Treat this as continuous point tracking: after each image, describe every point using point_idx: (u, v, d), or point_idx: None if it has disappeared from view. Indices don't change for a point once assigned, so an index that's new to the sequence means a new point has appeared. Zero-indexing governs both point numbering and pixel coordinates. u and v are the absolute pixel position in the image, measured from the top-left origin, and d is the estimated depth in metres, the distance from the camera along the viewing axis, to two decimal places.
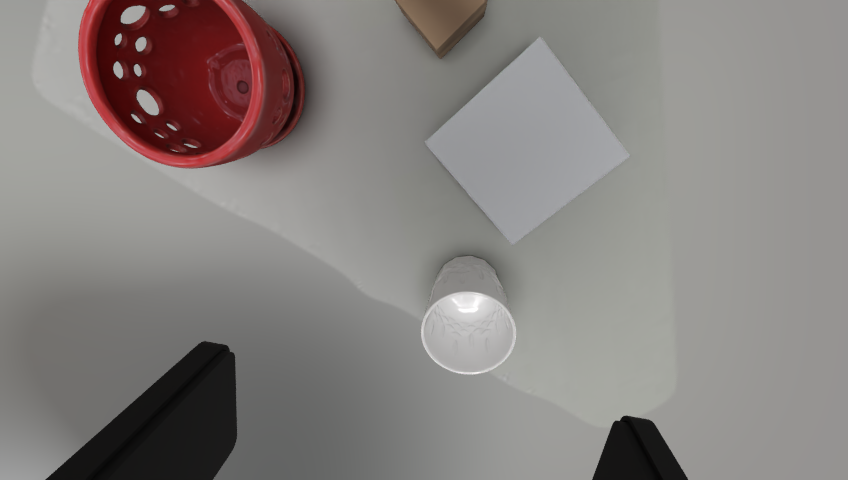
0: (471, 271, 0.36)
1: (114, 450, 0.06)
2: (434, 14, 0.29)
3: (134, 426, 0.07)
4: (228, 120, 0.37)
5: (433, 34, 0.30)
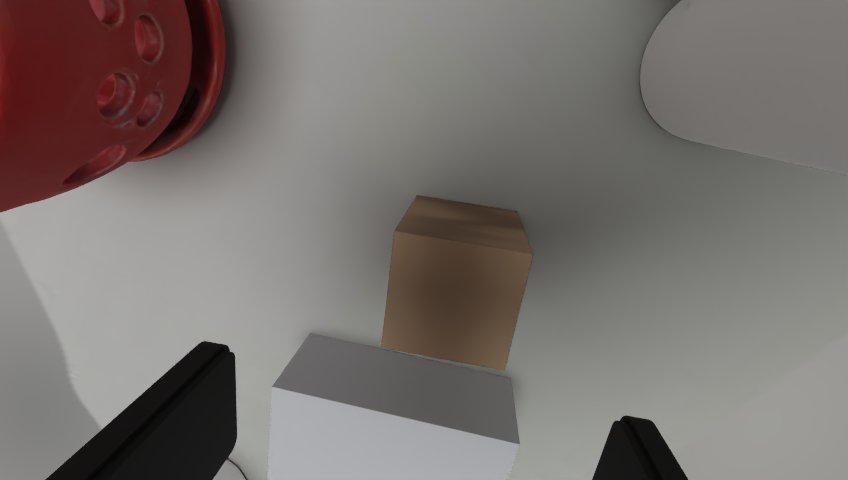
0: None
1: (114, 451, 0.06)
2: (422, 312, 0.15)
3: (134, 426, 0.07)
4: None
5: (396, 329, 0.16)
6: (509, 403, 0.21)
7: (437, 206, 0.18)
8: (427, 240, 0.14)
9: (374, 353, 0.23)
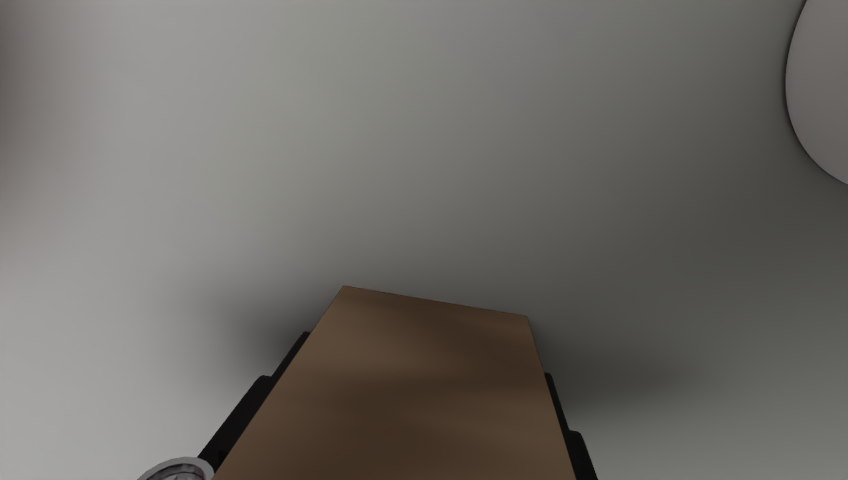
0: None
1: None
2: None
3: None
4: None
5: None
6: None
7: (373, 322, 0.09)
8: None
9: None
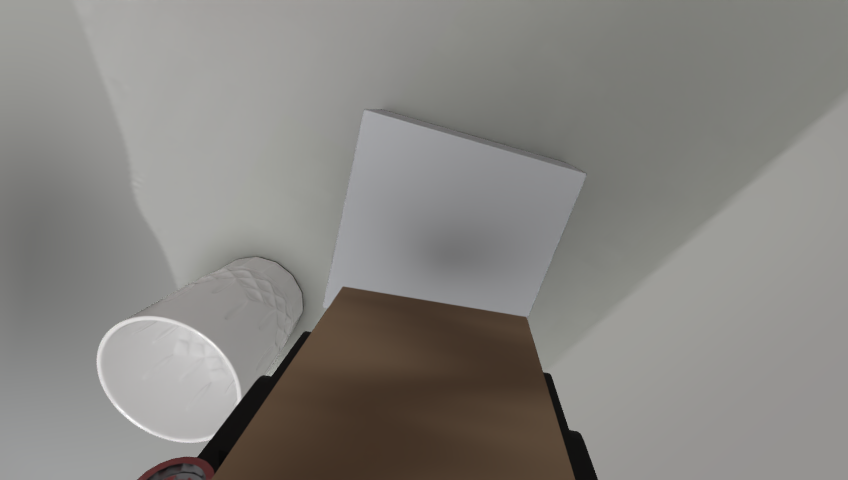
0: (262, 304, 0.24)
1: None
2: None
3: None
4: None
5: None
6: (569, 165, 0.23)
7: (372, 323, 0.09)
8: None
9: (442, 127, 0.24)
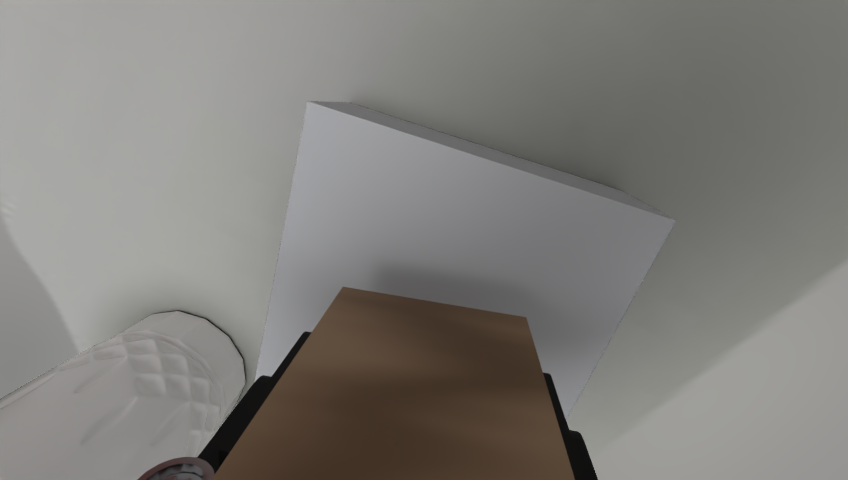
0: (163, 399, 0.16)
1: None
2: None
3: None
4: None
5: None
6: (634, 199, 0.15)
7: (372, 323, 0.09)
8: None
9: (440, 133, 0.16)
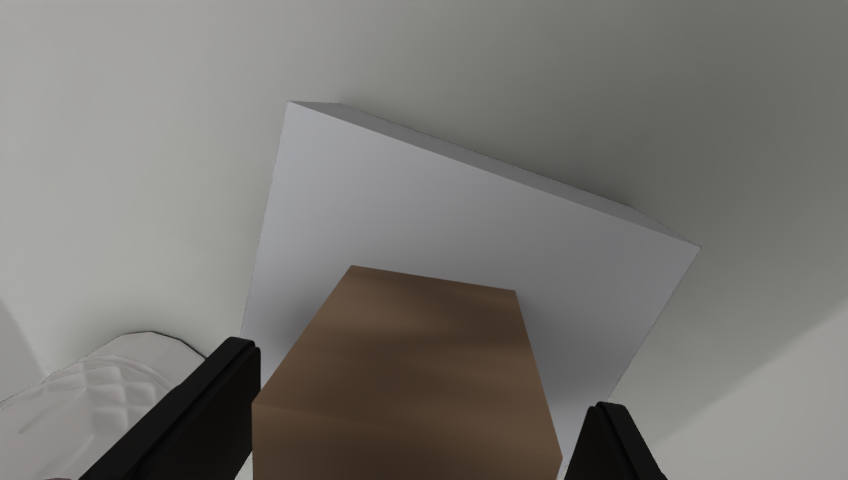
0: None
1: (157, 439, 0.07)
2: None
3: (174, 416, 0.07)
4: None
5: None
6: (650, 219, 0.13)
7: (378, 293, 0.10)
8: (326, 423, 0.06)
9: (437, 139, 0.15)
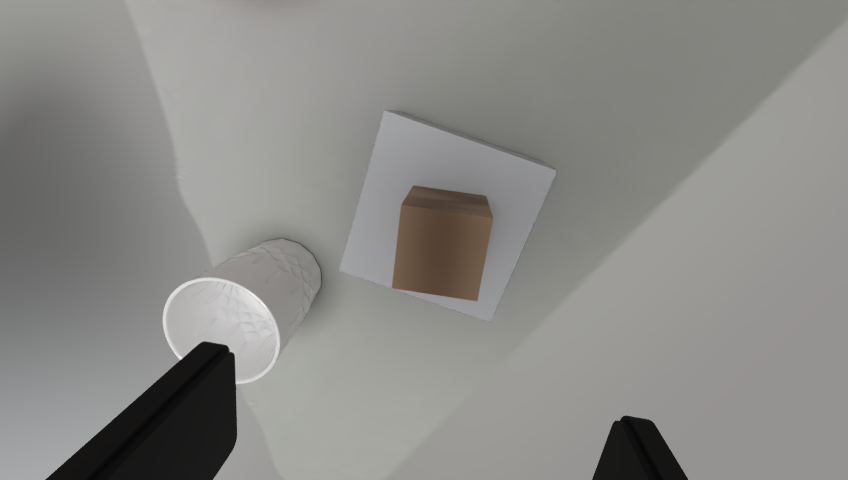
0: (291, 274, 0.29)
1: (114, 451, 0.06)
2: (420, 261, 0.22)
3: (134, 426, 0.07)
4: None
5: (402, 274, 0.23)
6: (545, 164, 0.28)
7: (428, 192, 0.25)
8: (423, 210, 0.21)
9: (445, 128, 0.30)
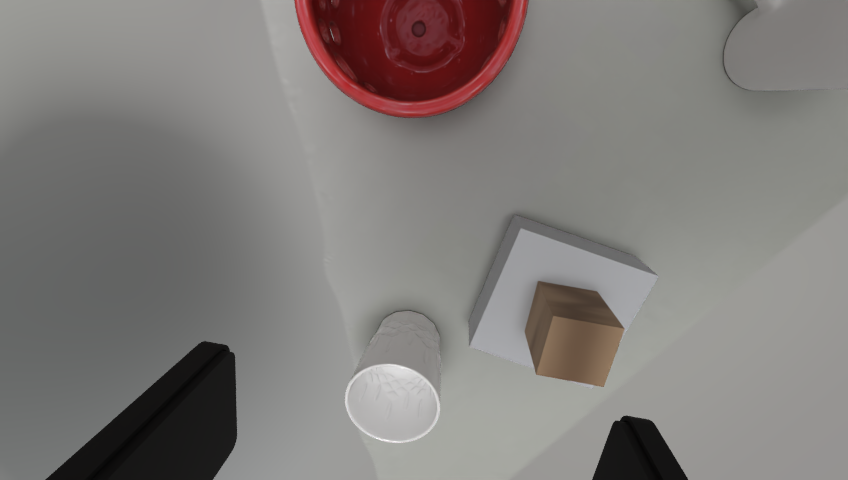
0: (432, 349, 0.36)
1: (113, 451, 0.06)
2: (562, 356, 0.29)
3: (134, 426, 0.07)
4: (375, 36, 0.31)
5: (546, 365, 0.29)
6: (642, 263, 0.35)
7: (556, 291, 0.32)
8: (570, 320, 0.28)
9: (556, 229, 0.36)
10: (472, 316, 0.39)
